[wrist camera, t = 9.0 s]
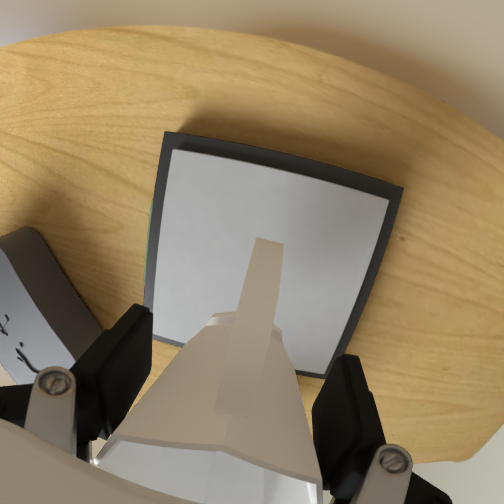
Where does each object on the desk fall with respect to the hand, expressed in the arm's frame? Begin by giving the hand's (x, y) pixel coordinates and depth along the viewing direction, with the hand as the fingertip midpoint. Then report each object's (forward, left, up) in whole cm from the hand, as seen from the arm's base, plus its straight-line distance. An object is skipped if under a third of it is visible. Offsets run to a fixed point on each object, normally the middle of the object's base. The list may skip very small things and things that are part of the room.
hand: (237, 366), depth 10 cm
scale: (0, 0, -11) cm, 11 cm away
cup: (0, 0, -3) cm, 3 cm away
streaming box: (+11, -21, -11) cm, 26 cm away
